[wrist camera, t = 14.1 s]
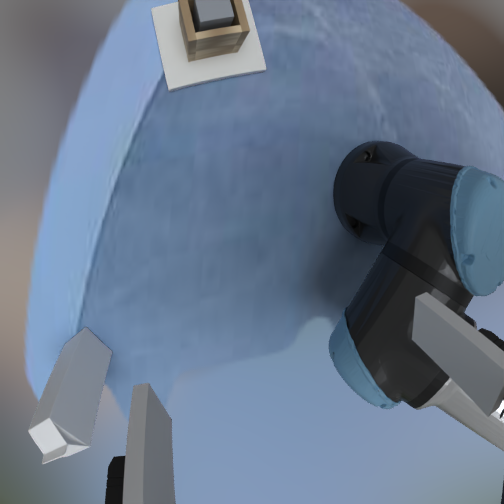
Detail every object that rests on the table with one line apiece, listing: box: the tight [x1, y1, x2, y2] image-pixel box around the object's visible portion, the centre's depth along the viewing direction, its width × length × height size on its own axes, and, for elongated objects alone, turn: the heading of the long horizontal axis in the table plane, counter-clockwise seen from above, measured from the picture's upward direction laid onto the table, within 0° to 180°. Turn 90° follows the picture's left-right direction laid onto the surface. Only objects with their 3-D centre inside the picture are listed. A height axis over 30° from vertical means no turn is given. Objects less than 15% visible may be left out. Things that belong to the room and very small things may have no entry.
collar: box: [178, 0, 250, 62], centre depth 26 cm, size 6×6×8 cm
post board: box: [151, 0, 266, 92], centre depth 26 cm, size 12×12×10 cm
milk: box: [28, 327, 112, 464], centre depth 32 cm, size 6×6×22 cm
